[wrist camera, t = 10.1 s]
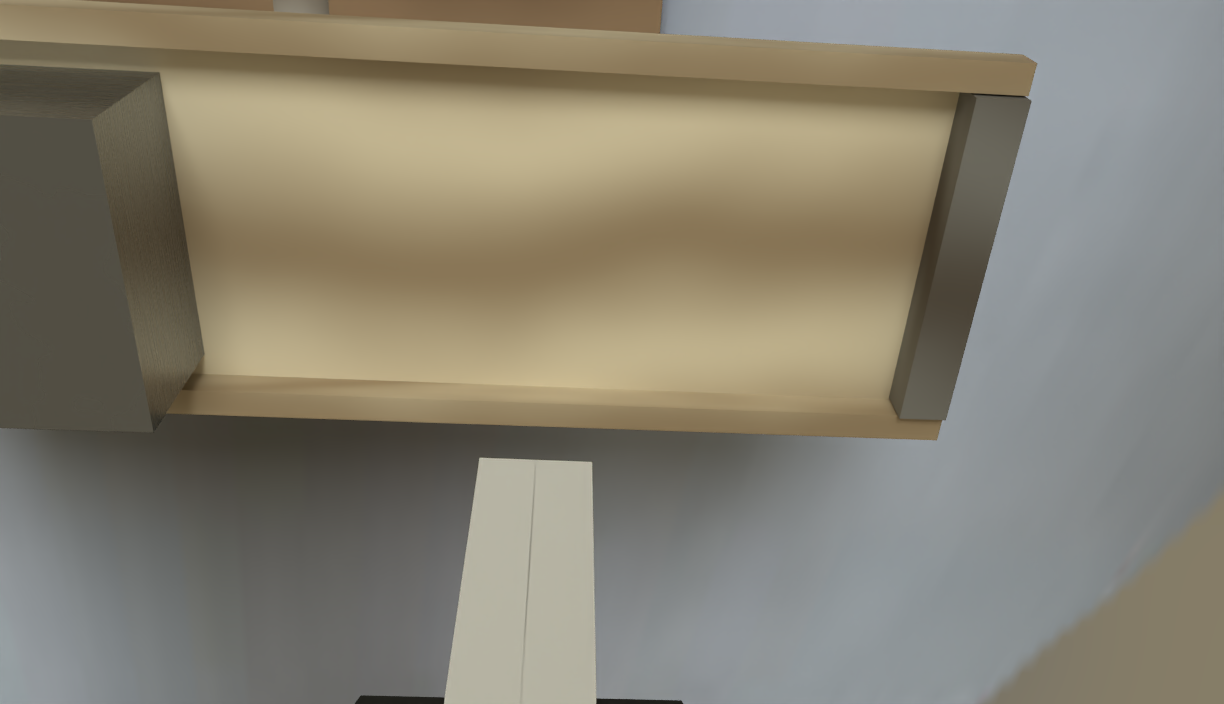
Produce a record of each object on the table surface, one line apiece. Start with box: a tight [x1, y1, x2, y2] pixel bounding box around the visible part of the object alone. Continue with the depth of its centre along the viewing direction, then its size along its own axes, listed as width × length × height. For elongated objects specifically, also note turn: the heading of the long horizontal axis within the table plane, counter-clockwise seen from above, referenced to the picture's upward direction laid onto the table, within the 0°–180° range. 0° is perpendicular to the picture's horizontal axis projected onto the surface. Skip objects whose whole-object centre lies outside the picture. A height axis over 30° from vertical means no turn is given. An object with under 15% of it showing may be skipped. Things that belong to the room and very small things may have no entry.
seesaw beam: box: [0, 0, 1037, 440], centre depth 24 cm, size 10×32×3 cm, turn 86°
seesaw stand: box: [83, 0, 662, 34], centre depth 30 cm, size 10×18×9 cm, turn 86°
